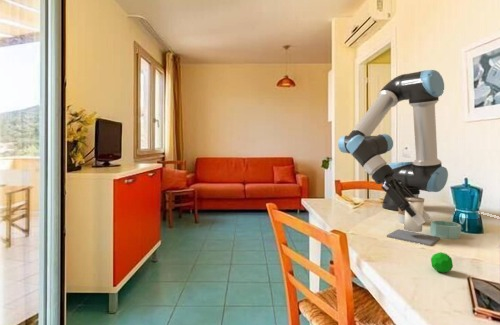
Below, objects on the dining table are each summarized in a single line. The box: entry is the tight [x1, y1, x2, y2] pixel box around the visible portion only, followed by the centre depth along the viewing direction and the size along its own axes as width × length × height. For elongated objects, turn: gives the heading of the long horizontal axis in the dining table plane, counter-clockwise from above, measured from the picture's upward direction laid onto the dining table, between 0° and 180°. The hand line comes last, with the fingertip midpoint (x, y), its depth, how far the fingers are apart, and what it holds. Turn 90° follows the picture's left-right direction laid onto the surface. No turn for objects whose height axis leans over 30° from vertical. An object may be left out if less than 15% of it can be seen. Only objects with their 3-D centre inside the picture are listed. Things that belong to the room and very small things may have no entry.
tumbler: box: [403, 196, 425, 233], centre depth 113 cm, size 6×6×11 cm
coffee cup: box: [398, 186, 421, 224], centre depth 135 cm, size 8×8×15 cm
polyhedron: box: [430, 252, 454, 274], centre depth 85 cm, size 5×5×5 cm
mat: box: [386, 228, 441, 247], centre depth 114 cm, size 11×14×1 cm
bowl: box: [429, 219, 462, 240], centre depth 117 cm, size 9×9×4 cm
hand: (425, 222), depth 111 cm, fingers closed on tumbler, 6 cm apart
